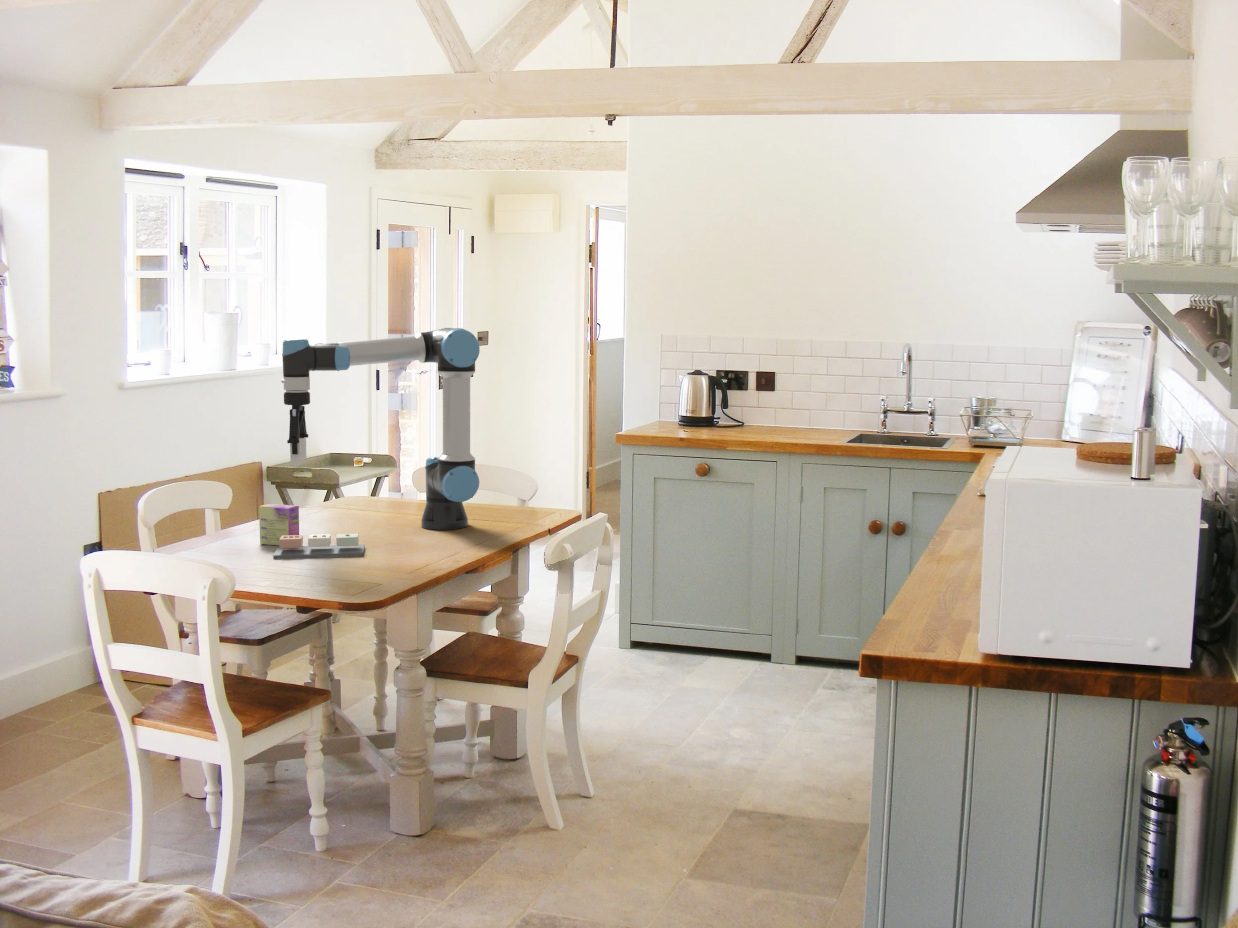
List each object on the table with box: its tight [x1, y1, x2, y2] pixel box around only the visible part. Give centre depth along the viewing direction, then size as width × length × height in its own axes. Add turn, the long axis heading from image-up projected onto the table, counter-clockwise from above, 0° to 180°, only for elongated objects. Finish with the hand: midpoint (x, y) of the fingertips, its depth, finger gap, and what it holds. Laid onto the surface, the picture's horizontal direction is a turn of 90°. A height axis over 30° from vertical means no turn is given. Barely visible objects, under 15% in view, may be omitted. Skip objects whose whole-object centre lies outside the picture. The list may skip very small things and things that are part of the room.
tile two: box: [307, 533, 332, 547], centre depth 349 cm, size 6×6×3 cm
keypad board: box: [272, 544, 365, 560], centre depth 349 cm, size 25×12×1 cm, turn 100°
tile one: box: [336, 532, 360, 546], centre depth 350 cm, size 6×6×3 cm
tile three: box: [279, 534, 304, 548], centre depth 347 cm, size 6×6×3 cm
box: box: [258, 503, 300, 547], centre depth 362 cm, size 10×6×12 cm, turn 71°
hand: (298, 462), depth 357 cm, fingers open, 13 cm apart
